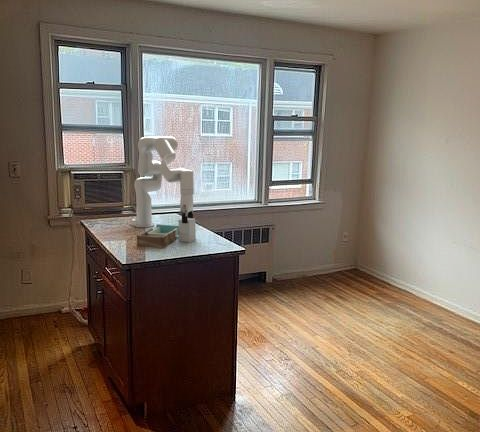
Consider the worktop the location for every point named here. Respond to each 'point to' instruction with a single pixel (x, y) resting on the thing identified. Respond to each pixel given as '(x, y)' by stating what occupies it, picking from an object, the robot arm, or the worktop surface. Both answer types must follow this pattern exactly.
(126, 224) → the worktop surface
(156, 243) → the organizer
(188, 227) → the supplement box
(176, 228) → the tray
